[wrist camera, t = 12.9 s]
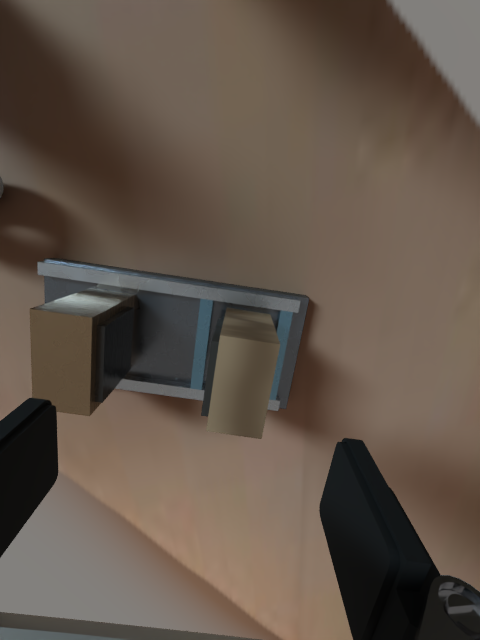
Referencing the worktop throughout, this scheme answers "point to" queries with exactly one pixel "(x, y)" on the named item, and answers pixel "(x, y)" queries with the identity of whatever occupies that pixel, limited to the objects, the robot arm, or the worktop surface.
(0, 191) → the donut
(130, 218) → the worktop surface
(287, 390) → the rail
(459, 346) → the worktop surface
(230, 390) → the tan wooden block
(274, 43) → the worktop surface
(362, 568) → the robot arm
